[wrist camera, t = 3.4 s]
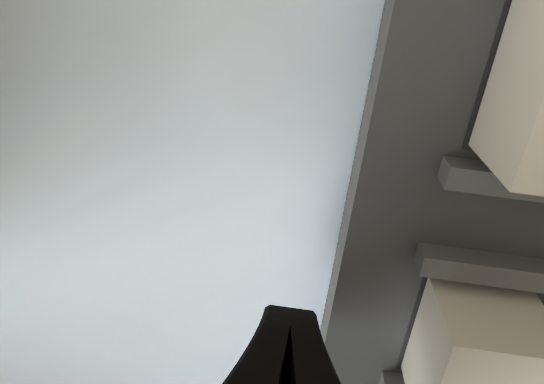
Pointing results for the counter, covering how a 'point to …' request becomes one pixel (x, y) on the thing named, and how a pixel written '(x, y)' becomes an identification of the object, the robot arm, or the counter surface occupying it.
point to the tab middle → (475, 336)
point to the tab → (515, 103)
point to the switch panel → (424, 188)
